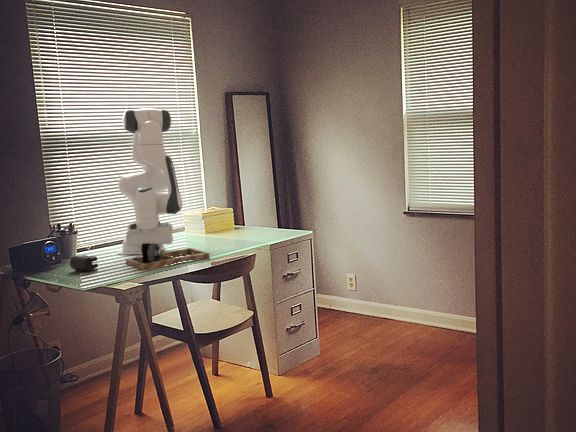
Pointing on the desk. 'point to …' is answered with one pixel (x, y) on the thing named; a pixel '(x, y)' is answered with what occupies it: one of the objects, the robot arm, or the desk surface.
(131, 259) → the wooden divided tray
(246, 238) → the desk surface
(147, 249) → the cpu cooler
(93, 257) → the end cap
